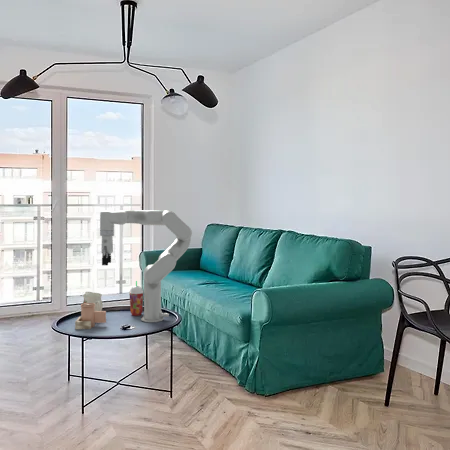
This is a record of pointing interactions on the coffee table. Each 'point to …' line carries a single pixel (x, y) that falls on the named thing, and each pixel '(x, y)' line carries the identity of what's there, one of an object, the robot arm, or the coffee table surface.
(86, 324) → the holder
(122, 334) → the coffee table surface
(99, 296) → the pitcher
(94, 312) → the peach cylinder
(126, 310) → the coffee table surface
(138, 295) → the smoothie
